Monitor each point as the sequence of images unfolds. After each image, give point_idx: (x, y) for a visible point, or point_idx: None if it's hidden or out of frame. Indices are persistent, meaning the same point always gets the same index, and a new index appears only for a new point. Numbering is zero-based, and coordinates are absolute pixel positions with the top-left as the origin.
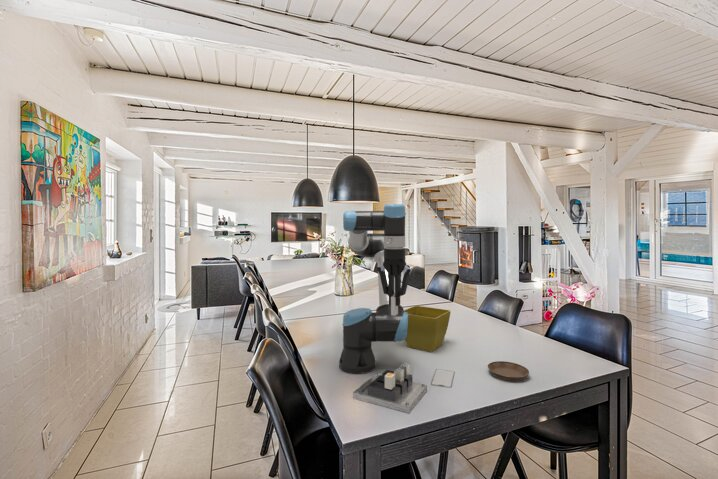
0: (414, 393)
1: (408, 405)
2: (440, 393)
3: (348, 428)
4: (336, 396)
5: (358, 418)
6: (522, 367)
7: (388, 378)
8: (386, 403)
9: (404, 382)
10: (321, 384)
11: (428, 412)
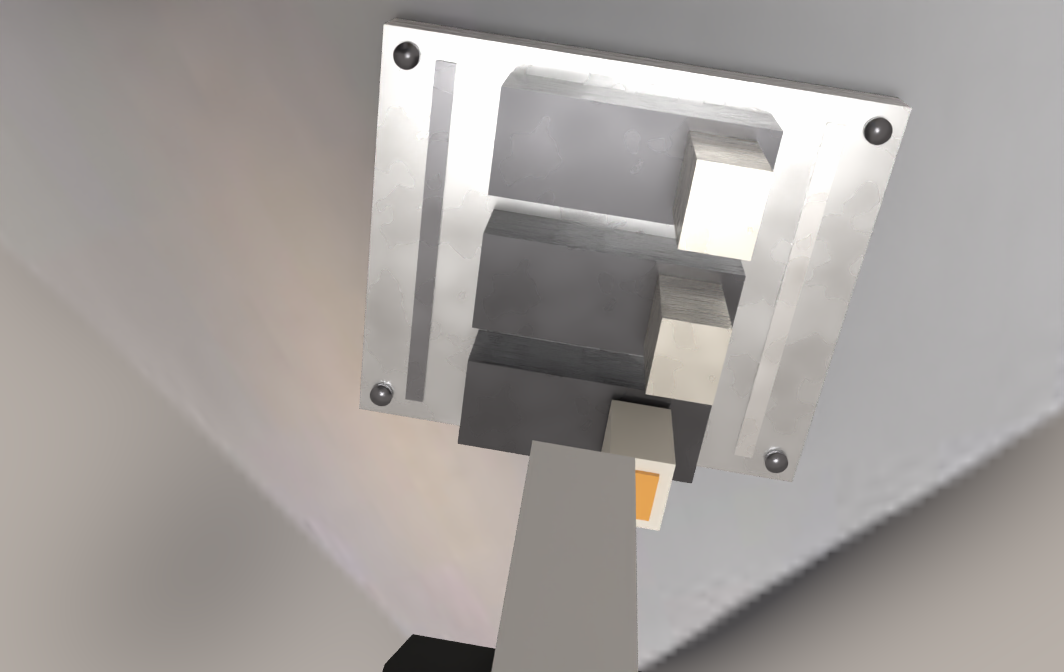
0: (810, 293)
1: (785, 465)
2: (1021, 104)
3: None
4: (255, 397)
5: (503, 576)
6: None
7: None
8: None
9: (731, 311)
10: (51, 270)
11: (915, 413)
